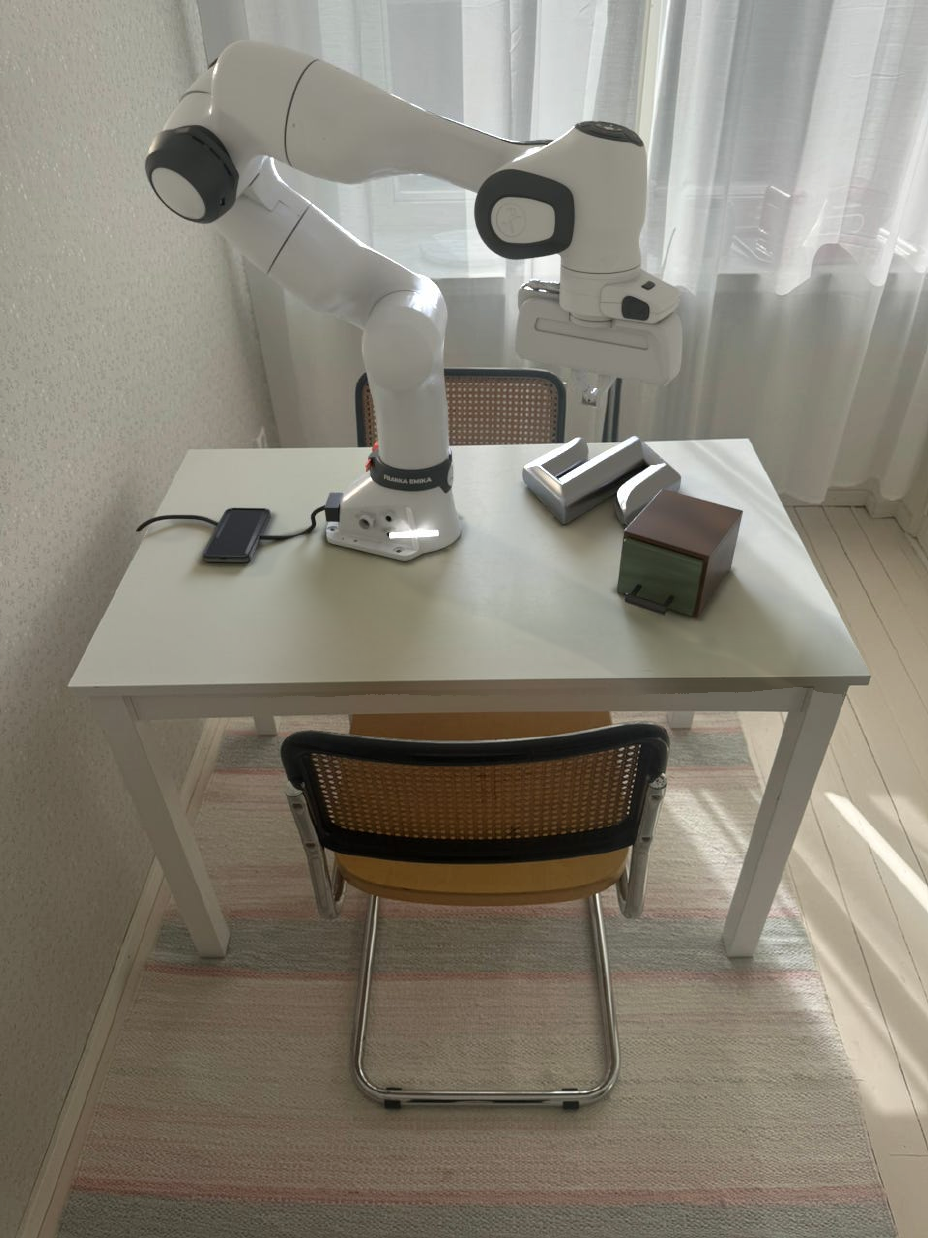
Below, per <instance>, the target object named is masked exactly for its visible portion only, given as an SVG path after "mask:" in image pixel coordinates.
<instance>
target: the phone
mask: <svg viewBox="0 0 928 1238" xmlns="http://www.w3.org/2000/svg"><path fill="white" fill-rule="evenodd" d="M271 518H272V514H271V509H269V508H266V507H229V508H227V509H225V510H224V512H223V515H222V516H221V518H220V520H219V521H218V522H219V523H218V525H217V526H215V529H214V531H212V534H211V535H210V538H209V540H208V542H207V543H206V545H205V546H204V548H203V550H202V552H201V555H202V557H203V561H204V562H207V563H237V564H239V563H241V564H242V563H243V564H244V563H248V562H250V561H252V559H253V557H254V554H255V553H256V550H257V548H258V546H259V544H260V541H261V540H260V538H259V536H260V535H264V533H265V531H266V528H267V527H268V525H269V522H270V520H271Z"/></svg>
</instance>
